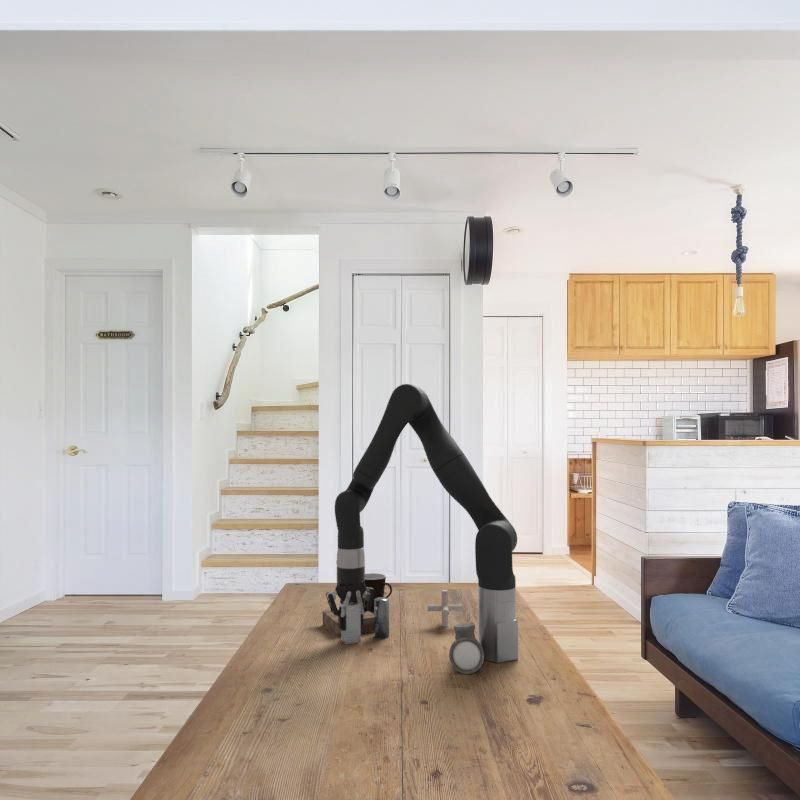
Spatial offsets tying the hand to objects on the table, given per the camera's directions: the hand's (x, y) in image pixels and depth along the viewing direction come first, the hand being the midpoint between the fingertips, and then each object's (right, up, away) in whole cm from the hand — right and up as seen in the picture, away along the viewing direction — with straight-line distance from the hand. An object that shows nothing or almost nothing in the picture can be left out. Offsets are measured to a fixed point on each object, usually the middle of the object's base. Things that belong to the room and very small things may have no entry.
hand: (350, 628), depth 174 cm
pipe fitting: (+29, -3, -18) cm, 34 cm away
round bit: (+8, -3, +4) cm, 10 cm away
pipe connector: (+26, -4, +13) cm, 29 cm away
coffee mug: (+5, -5, +29) cm, 30 cm away
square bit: (0, -3, 0) cm, 3 cm away
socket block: (-1, -4, +11) cm, 12 cm away
